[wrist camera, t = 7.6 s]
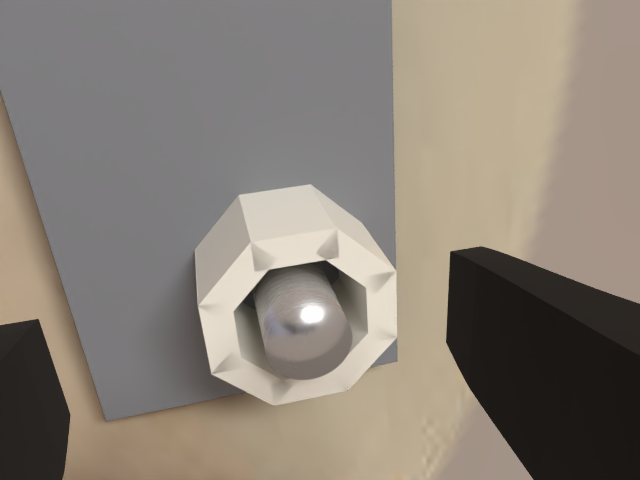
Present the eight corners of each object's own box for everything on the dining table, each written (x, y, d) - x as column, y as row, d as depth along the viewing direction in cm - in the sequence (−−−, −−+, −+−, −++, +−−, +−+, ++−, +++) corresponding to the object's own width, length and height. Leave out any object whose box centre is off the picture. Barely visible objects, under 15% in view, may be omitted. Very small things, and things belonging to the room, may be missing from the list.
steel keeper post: (291, 308, 20) (318, 391, 16) (234, 278, 19) (248, 359, 15) (331, 255, 20) (369, 328, 16) (274, 222, 19) (299, 291, 15)
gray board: (387, 343, 23) (397, 361, 22) (109, 399, 22) (105, 421, 21) (371, -298, 14) (386, -318, 13) (-104, -294, 13) (-130, -317, 12)
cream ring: (365, 319, 21) (398, 380, 18) (213, 348, 20) (219, 417, 17) (359, 176, 19) (395, 218, 16) (185, 202, 18) (186, 252, 15)
